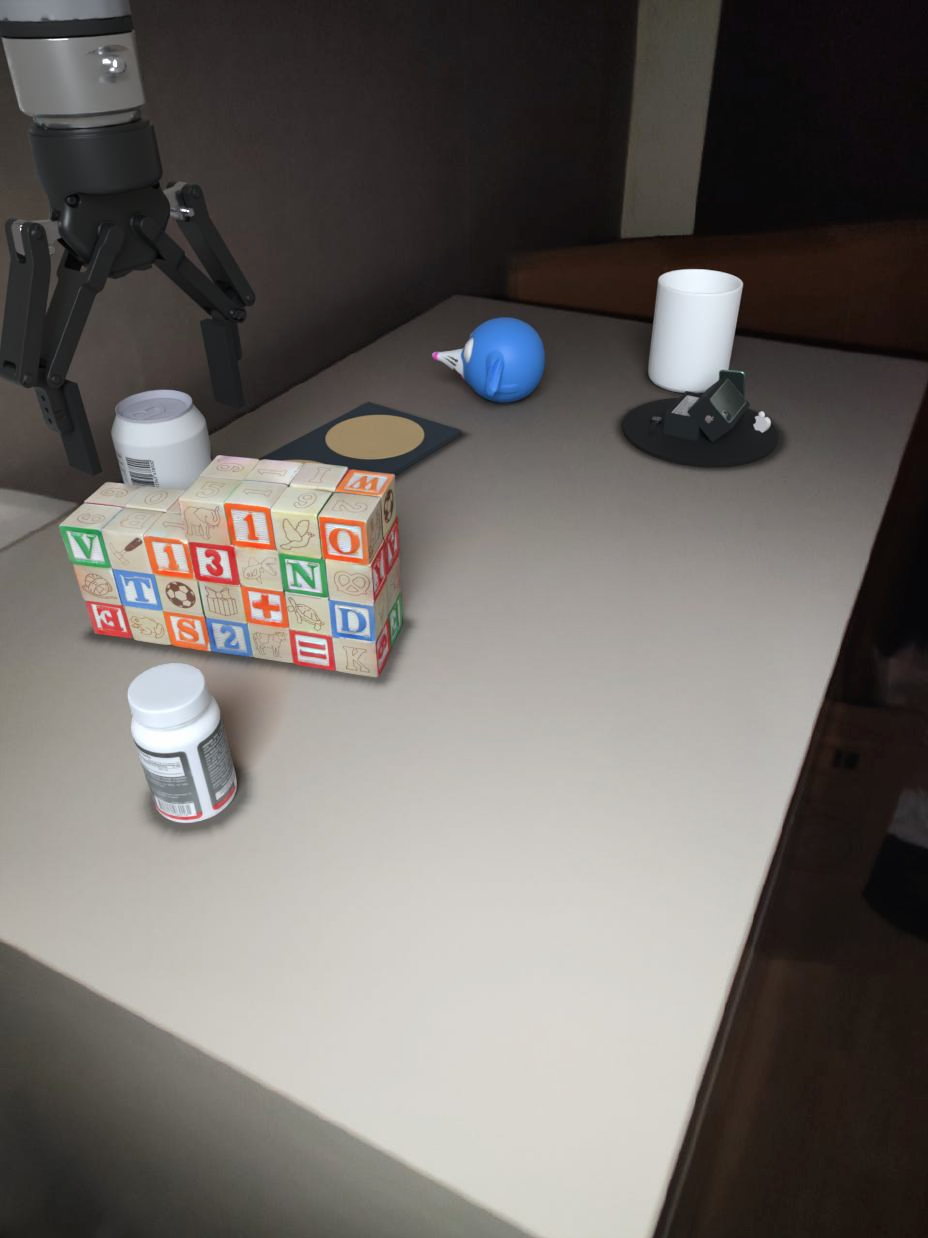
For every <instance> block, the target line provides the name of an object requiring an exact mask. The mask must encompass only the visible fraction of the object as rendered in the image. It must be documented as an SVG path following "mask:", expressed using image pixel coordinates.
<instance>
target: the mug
mask: <svg viewBox="0 0 928 1238" xmlns="http://www.w3.org/2000/svg"><path fill="white" fill-rule="evenodd" d="M656 287H657V288H656V295H655V303H654V312H653V313H654V314H653V321H652V330H651V339H650V346H649V355H648V366H647V374H648V378H649V380H650V382H652V384H654V385H655V386H656V387H658V388H660V389H663V390H666V391H668V392H669V391H670V392H674V393H679V394H683V393H684V392H685V391H689V392H694V393H699V394H703V393H704V392H705V391H706V390H707V389H708V388H709V387H711V386H712V385H713V384H714V383H716V382H717V381H718V380H719V371H720V370H730V369H729V368H730V364H731V363H730V362H731V359H732V351H733V346H734V340H735V334H736V329H737V322H738V317H739V312H740V305H741V299H742V293H743V288H744V282H743V281H742V279H740V278H739V277H738V276H735V275H733V274H732V273H727V272H723V271H720V270H719V271H718V270H711V269H704V268H703V269H702V268H701V269H700V268H685V269H677V270H671V271H668V272H665V273H663V274H661V275H660V276H658V279H657V286H656Z"/></svg>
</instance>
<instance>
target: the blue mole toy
mask: <svg viewBox="0 0 928 1238" xmlns="http://www.w3.org/2000/svg"><path fill="white" fill-rule="evenodd" d="M431 357H432V359H433V360H434V361H436V362H441V363H442V364H444V365H445V366H447V367H448V368H450V369H451V370H452V371H456V372H457V373H458V374H459V375H460V377H461V379H462V380H463V381H464V382H466V383H467V385H468V386H470V388H472V390H473V391H474V392H475V393H476V394H478V395H479V396H480V397H481V398H483V399H486V400H487V401H491V402H494V403H499V404H500V403H502V404H506V403H514V402H518V401H520V400H522V399H525V398H526V397H528V396H529V395H531V394H532V393H533V391H535V389H536V388H537V387H538V385H539V384H540V382H541V380H542V377H543V374H544V371H545V365H546V352H545V346H544V343H543V340H542V339H541V337H540V335H539V333H538V332H537V330H536V329H535V328H533V327H532V325H530V324H529V323H527V322H525V321H523V320H521V319H518V318H515V317H507V316H506V317H505V316H504V317H496V318H491V319H489V320H486V321H484V322H483V323H480V325H478V326H477V327H476V328H475V329H474V330H473V331H472V332H471V333H470V335H469V338H468V340H467V342H466V343H465V345H464V347H463V348H458V349H453V350H446V351H433V353H432V354H431Z"/></svg>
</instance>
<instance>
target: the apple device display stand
mask: <svg viewBox="0 0 928 1238" xmlns="http://www.w3.org/2000/svg"><path fill="white" fill-rule="evenodd" d="M745 395H746V373H745V371H742V370H735V369H729V370H720V371H719V380H718V381H717V382H716V383H714V384H713V385H712V386H711V387H709V388H708V389H707V390H706V391H705V392H704V393H694V392H689V391H685V392H684V393H681V395H680V396H679V397H671V398H664V399H663V398H662V399H658V400H654V401H650V402H646V403H643V404H641V405H638V406H636V407H635V408H633V409H631V410H630V411H629V412H628V413H626V415H625V417H624V419H623V421H622V433H623V435H624V437H625V438H626V440H627V441H628V442H629V443H630V444H631V445H632V446H633V447H635V448H636V449H638V450H640V451H642V452H643V453H645V454H647V455H648V456H649V455H650V456H652V457H654V458H657V459H659V460H663V461H665V462H670V463H673V464H677V465H678V464H679V465H684V466H691V467H702V468H729V467H737V466H743V465H747V464H752V463H754V462H758V461H760V460H762V459H764V458H766V457H767V456H769V455H770V454H772V453H773V452H774V451H775V449H776V448H777V446H778V442H779V431H778V430H777V428H776V427H775V425H774V424H773V422H772V421H771V418H769V417H768V416H766V414H765V412H764V411H763V410H761V411H759V412H756V411H755V410H752V409H750V408H749V407H750V406H751V403H750V402H749V400H747V398H746V397H745Z"/></svg>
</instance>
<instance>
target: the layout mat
mask: <svg viewBox="0 0 928 1238" xmlns="http://www.w3.org/2000/svg"><path fill="white" fill-rule="evenodd" d="M461 435H462V430H461V429H459V428H456V427H452V426H449V425H446V424H443V423H439V422H436V421H433V420H430V419H426V418H423V417H419V416H417V415H413V414H410V413H407V412H403V411H400V410H397V409H394V408H390V407H387V406H385V405H381V404H377V403H373V402H370V401H367V402H365V403H362V404H361V405H359V406H357V407H355V408H354V409H353V408H352V409H351V410H350V411H347V412H346V413H344V414H342V415H340V416H338V417H336V418H334V419H332V420H330V421H328V422H327V423H325V424H322V425H321V426H319V427H317V428H315V429H312V430H311V431H309V432H307V433H305V434H304V435H301V436H300V437H297V438H296V439H294V440H292V441H290V442H288V443H287V444H285V445H282V446H281V447H278V448H277V449H275V450H272V451H271V452H269V453H267V454H265V455H263V456H261V457H259V458H257V459H258V460H265V459H266V460H276V461H286V462H298V463H302V464H305V463H317V464H327V465H336V466H345V467H348V469H349V470H361V471H369V472H378V473H388V474H394V475H395V477H396V476H397V475H400V473H402V472H404V471H405V470H407V469H408V468H410V467H412V466H414V465H415V464H417V463H418V462H420V461H422V460H423V459H424V458H426V457H428V456H430V455H431V454H433V453H435V452H436V451H438V450H439V449H441V448H442V447H444V446H445V445H447V444H449V443H450V442H452V441H454V440H456V439H457V438H458V437H460V436H461Z"/></svg>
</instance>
